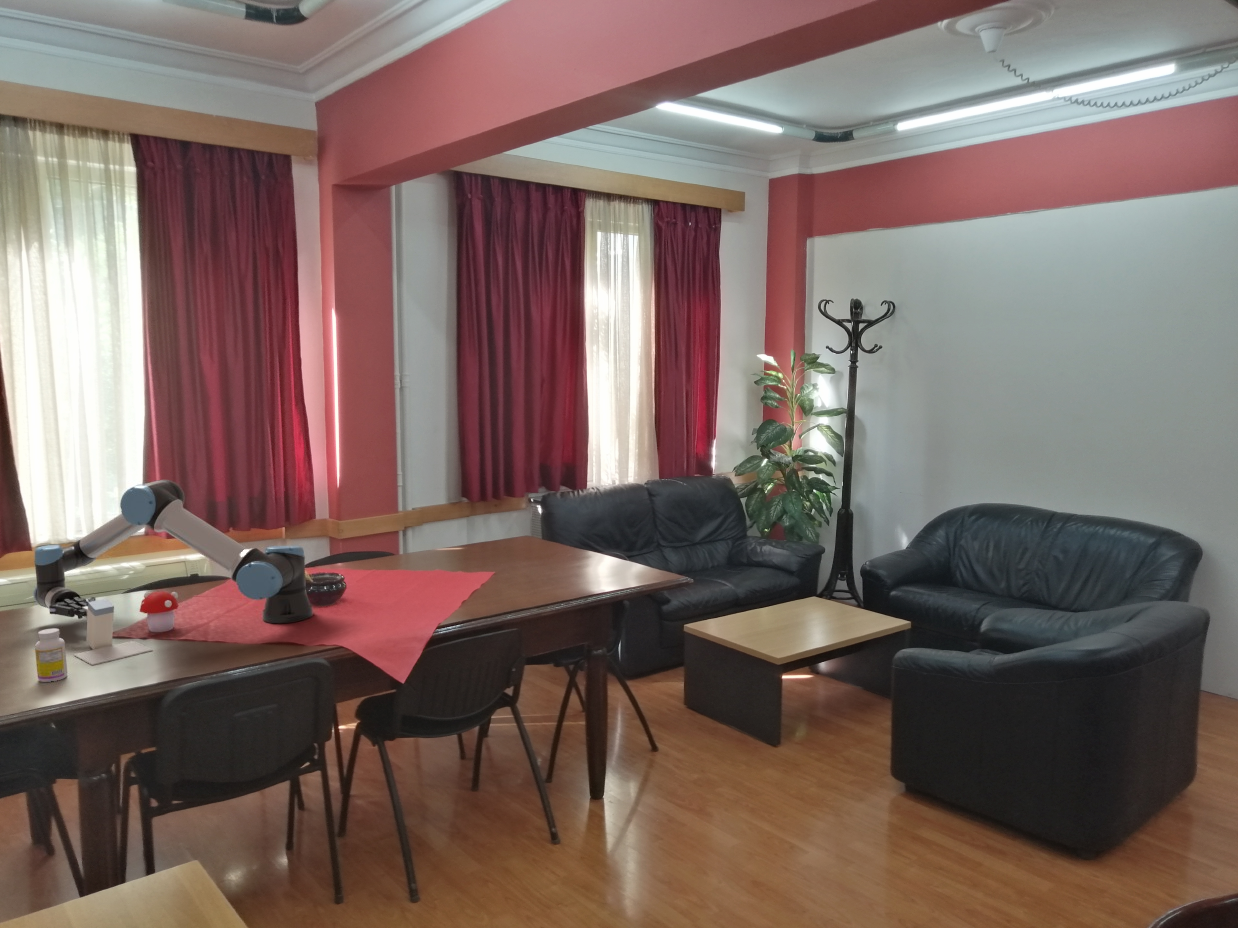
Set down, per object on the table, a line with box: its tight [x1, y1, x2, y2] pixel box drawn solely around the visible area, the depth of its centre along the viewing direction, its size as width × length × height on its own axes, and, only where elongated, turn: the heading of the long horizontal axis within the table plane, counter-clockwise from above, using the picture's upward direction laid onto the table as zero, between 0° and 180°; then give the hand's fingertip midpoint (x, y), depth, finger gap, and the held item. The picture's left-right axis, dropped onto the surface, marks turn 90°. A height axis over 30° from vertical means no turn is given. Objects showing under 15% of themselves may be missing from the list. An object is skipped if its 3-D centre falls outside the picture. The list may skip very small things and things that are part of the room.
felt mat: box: [73, 640, 153, 666], centre depth 262 cm, size 13×16×1 cm
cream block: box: [86, 598, 115, 650], centre depth 267 cm, size 5×5×13 cm
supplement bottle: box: [34, 628, 68, 683], centre depth 241 cm, size 7×7×13 cm
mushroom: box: [139, 590, 179, 633], centre depth 284 cm, size 11×11×12 cm
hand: (93, 614), depth 268 cm, fingers closed
